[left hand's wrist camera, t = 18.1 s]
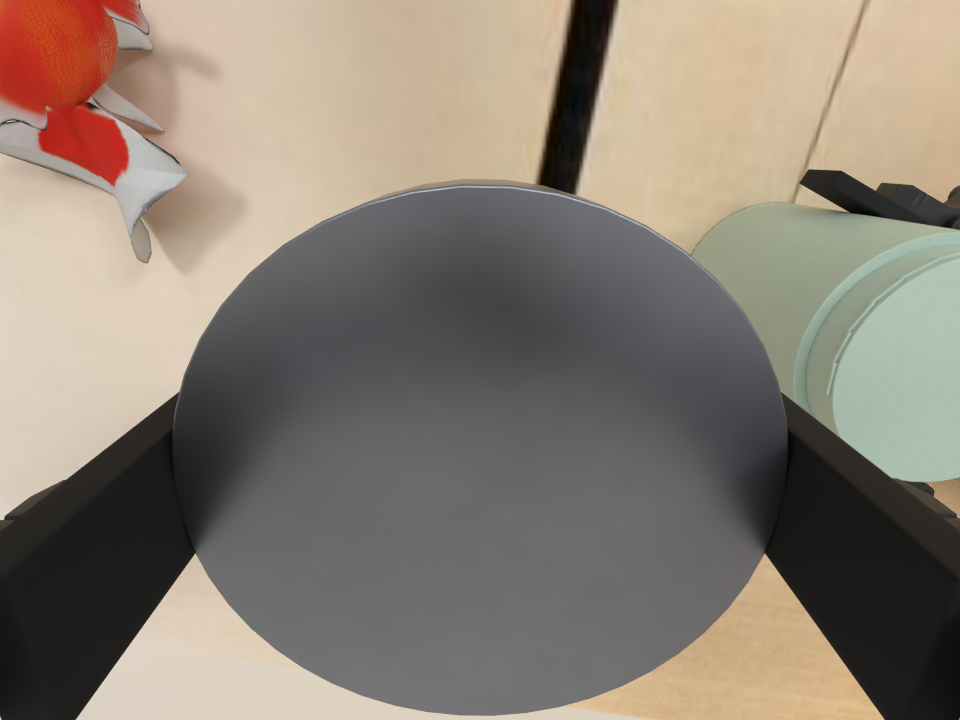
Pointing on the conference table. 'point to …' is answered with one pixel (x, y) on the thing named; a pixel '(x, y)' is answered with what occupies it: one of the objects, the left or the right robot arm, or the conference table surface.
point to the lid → (480, 449)
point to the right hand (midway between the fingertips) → (751, 276)
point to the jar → (854, 325)
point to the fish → (80, 101)
